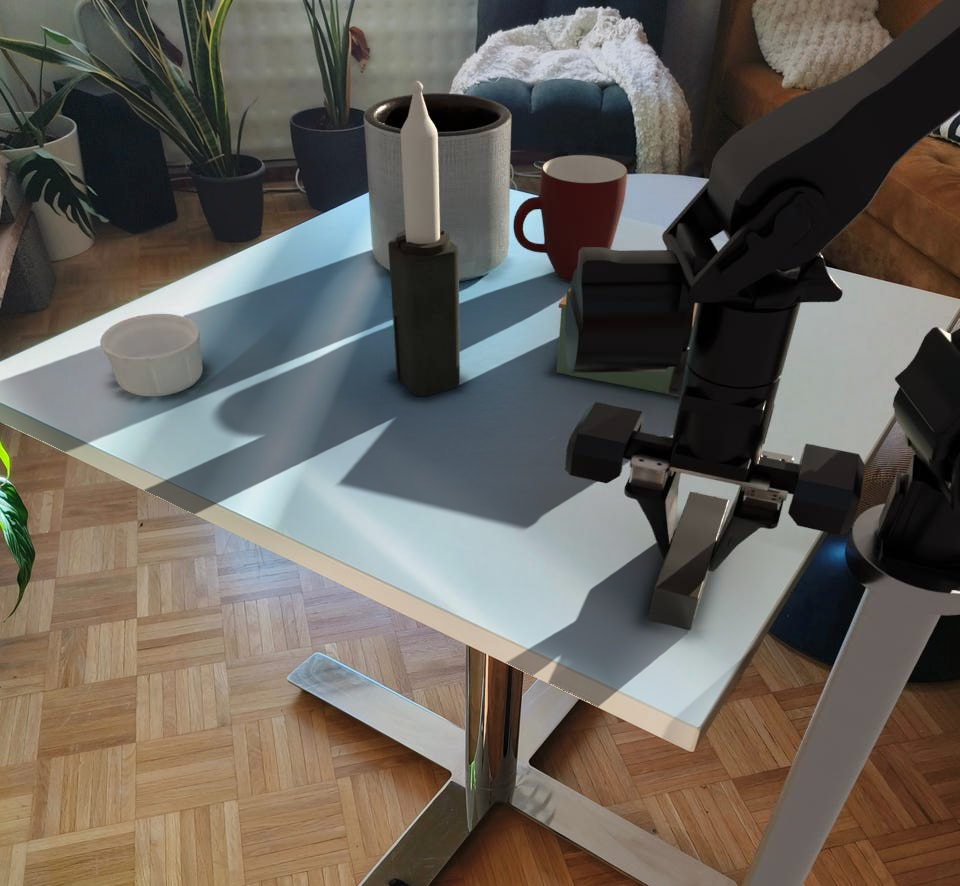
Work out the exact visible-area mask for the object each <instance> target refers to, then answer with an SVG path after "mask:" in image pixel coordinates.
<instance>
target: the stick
mask: <svg viewBox="0 0 960 886" xmlns="http://www.w3.org/2000/svg"><path fill="white" fill-rule="evenodd" d="M729 504H730V500H729V499H727V498H722V497H717V496H712V495H708V494H703V493H699V492H694V491H690V492H689V494H688V496H687V499H686V503H685V505H684V507H683V510H682V512H681V515H680V518H679V520H678V523H677V525H676V529H675V534H674V537H673V539H672V542H671V545H670V548H669V550H668V553H667V556H666V558H665V560H663V564H662V567H661V569H660V572H659V575H658V577H657V580H656V583H655V585H654V588H653V594H652V598H651V604H650V609H649V614H648V621H652V622H656V623H659V624H664V625H666V626H667V625H668V626H670V627H671V626H672V627H675V628H677V629H678V628H679V629H683V630H686V631H692V627H693V624H694V621H695V617H696V615H697V612H698V610H699V605H700V602H701V599H702V596H703V593H704V589H705V586H706V584H707V580H708V577H709V573H710V571H709V567H710V562H711V558H712V555H713V552H714V548H715V545H716V542H717V540H718V537H719V535H720V533H721V530H722V528H723V525H724V523H725V521H726V517H727V516H726V515H727V512H728V507H729Z"/></svg>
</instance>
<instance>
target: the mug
mask: <svg viewBox="0 0 960 886" xmlns="http://www.w3.org/2000/svg"><path fill="white" fill-rule="evenodd" d="M540 174H541V176H540V185H539V194H538V196H532V197H530V198H527V199H526V200H524V201H523V202H522V203H521V204H520V205H519V207H518V208H517V210H516V212H515V215H514V217H513V233H514V237H515V240H516V241H517V243H518V244H519V245H520V246H521V247H522V248H524V249H526V250H528V251H530V252H534V253H538V254H539V253H541V254H546V256H547V257H548V259H549V262H550V264H551V266H552V268H553V270H554V272H555V275H556V276H557V277H558V278H559V279H561V280H562V281H565V282H569V283H572V278H573V274H574V271H575V270H576V269H577V266H578V254H579V250H580V249H581V248H583V247H603V248H608V249H611V250H612V247H613V244H614V241H615V237H616V234H617V233H616V232H617V229H618V225H619V222H620V219H621V216H622V211H623V207H624V203H625V198H626V190H627V182H628V181H627V180H628V169H627V166H626V165H625V164H623V163H621V162H620V161H618V160H615V159H612V158H609V157H604V156H598V155H590V154H589V155H588V154H573V155H565V156H558V157H555V158H551V159H549V160H547V161H546V162H544V163H543V164H542V167H541V173H540ZM537 210H539V211H540V213H541V221H542V229H543V242H544V243H537V242H532V241H530V240H529V239H528V238H527V237H526V235H525V233H524V225H525V220H526V218H527V216H528V215H529V214H530V213H531V212H533V211H537Z"/></svg>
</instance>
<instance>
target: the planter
mask: <svg viewBox="0 0 960 886" xmlns="http://www.w3.org/2000/svg"><path fill="white" fill-rule="evenodd" d="M422 95H423V99H424V102H425V105H426V109H427V112H428V116H429V118H430V119H431V121H432V122H433V124H434V126H435V127H436V129H437V133H438V173H439V216H440V230H443V231H444V234H449V237H450V241H451V242H452V243H454V244H455V245H456V246H457V247H458V249H459V282H464V281H469V280H473V279H476V278H479V277H483V276H485V275H487V274H490V273H491V272H492V271H494V270H495V269H497V268H498V267H499V266H501V264H502V263H503V262H504V261H505V260H506V258H507V257H508V253H509V247H510V211H511V210H510V206H511V205H510V201H511V199H510V198H511V197H510V196H511V148H512V147H511V143H512V113H511V111H510V110H509V109H508V108H507V107H505V105H503V104H501V103H500V102H497V101H495V100H492V99H489V98H485V97H480V96H476V95H471V94H470V95H469V94H462V93H450V92H448V93H447V92H428V93H427V92H426V93H422ZM412 97H413V94H405V95H400V96H395V97H391V98H387V99H383V100H381V101H379V102H376V103H374V104H372V105H371V106H369V107H368V108H367V109H366V110H365V111H364V112H363V113H364V114H363V127H364V128H363V129H364V141H365V154H366V155H365V156H366V169H367V170H366V171H367V188H368V201H369V202H368V203H369V219H370V220H369V221H370V223H369V224H370V237H371V238H370V239H371V248H372V253H373V256H374V259H375V260H376V261H377V263H378V264H379V265H380V266H381V267H383V268H384V269H386V270H387V271H389V272H390V264H389V248H388V243H389V242H390V241H391V240H393V239H396V236H397V234H398V233H400V232H401V231H404V230H405V211H404V191H403V171H402V151H401V129H402V127H403V125H404V123H405V122H406V120H407V118H408V115H409V110H410V106H411V101H412Z"/></svg>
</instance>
